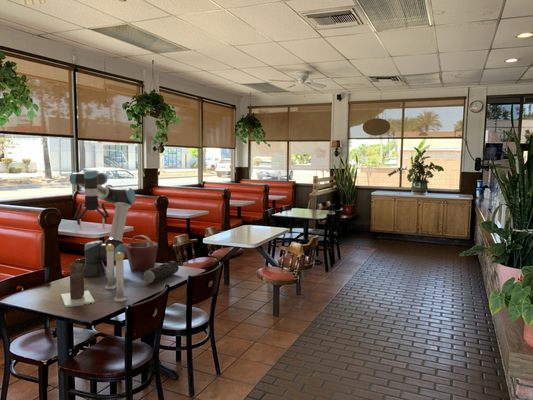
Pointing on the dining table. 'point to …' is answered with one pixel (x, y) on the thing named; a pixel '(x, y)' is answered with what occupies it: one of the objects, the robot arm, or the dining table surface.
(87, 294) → the sage board
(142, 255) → the bucket
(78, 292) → the rusty metal cylinder
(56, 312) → the dining table surface
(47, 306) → the dining table surface
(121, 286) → the stanchion posts
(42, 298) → the dining table surface
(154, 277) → the muzzle brake
